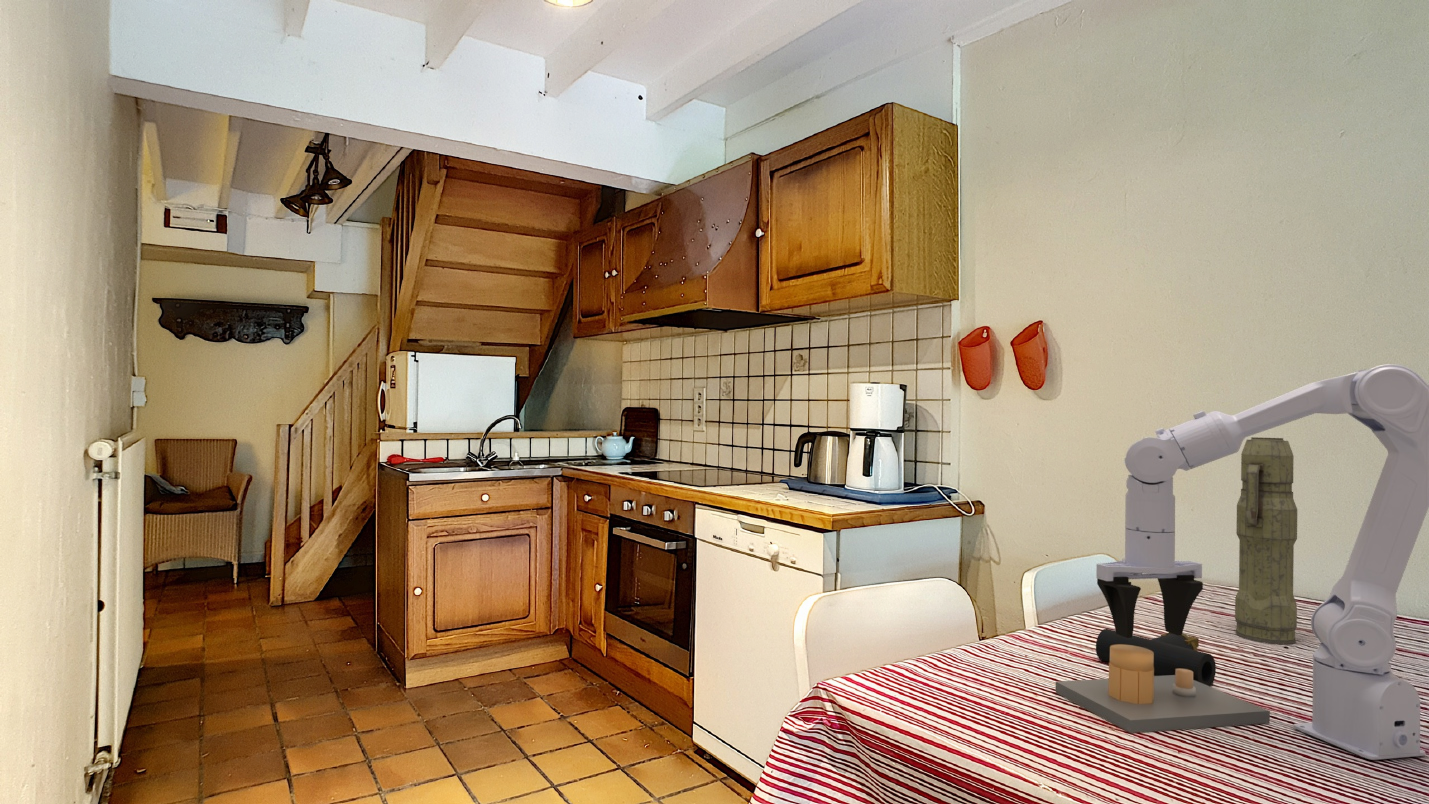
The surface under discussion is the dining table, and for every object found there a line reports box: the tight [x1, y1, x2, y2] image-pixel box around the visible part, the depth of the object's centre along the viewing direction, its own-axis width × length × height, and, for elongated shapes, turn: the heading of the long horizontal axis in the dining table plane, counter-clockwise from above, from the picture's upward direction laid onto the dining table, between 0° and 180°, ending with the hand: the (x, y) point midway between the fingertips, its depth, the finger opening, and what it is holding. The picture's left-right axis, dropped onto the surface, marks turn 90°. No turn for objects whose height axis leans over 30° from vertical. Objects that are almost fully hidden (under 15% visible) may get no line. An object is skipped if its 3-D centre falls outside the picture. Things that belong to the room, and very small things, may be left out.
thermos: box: [1234, 437, 1298, 646], centre depth 140 cm, size 9×12×35 cm
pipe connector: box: [1095, 628, 1217, 687], centre depth 120 cm, size 12×5×15 cm
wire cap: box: [1108, 644, 1155, 704], centre depth 103 cm, size 5×5×6 cm
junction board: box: [1055, 668, 1271, 734], centre depth 103 cm, size 14×20×4 cm
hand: (1149, 634), depth 104 cm, fingers open, 7 cm apart
